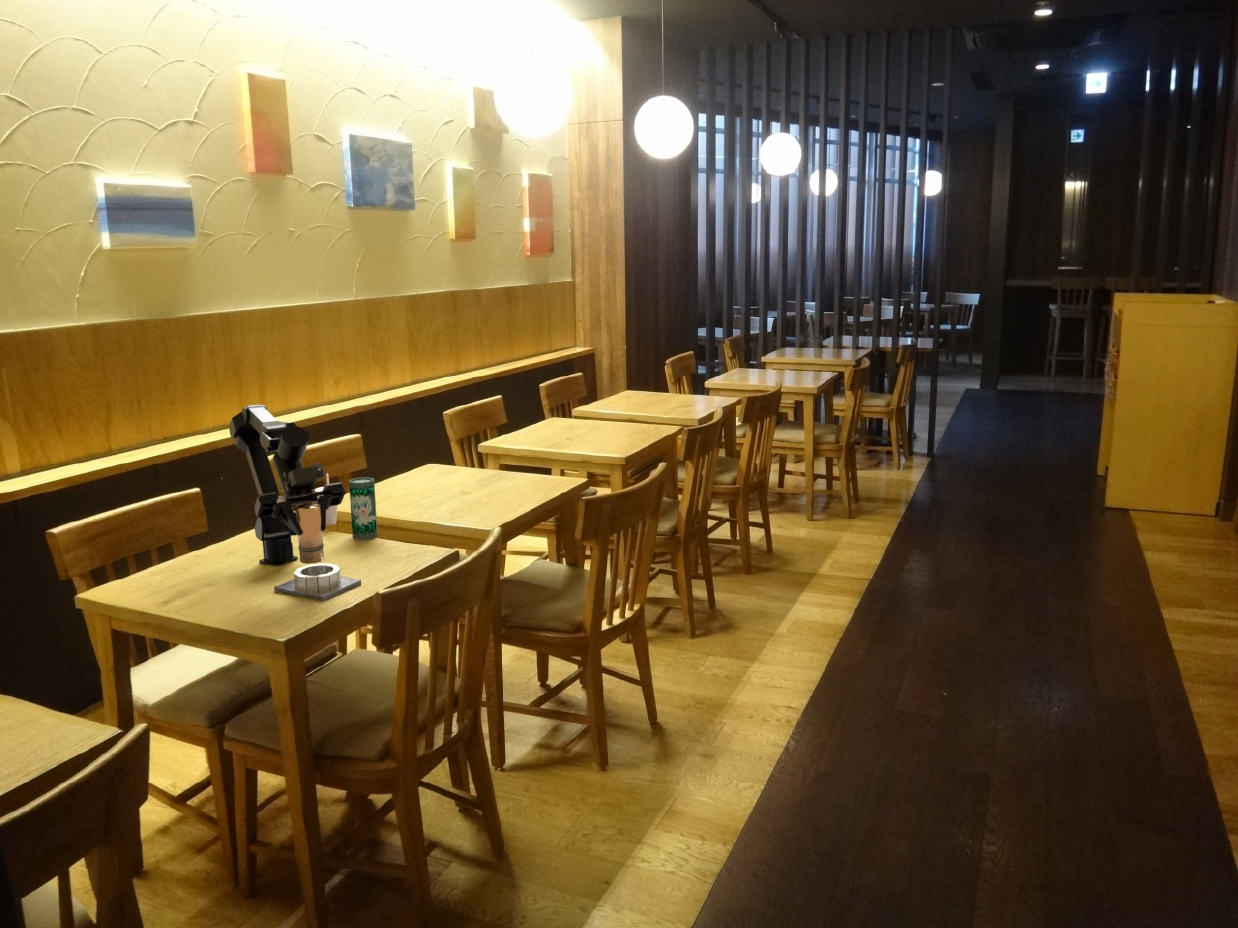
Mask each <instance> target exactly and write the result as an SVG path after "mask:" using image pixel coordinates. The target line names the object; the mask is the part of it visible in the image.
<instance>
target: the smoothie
mask: <svg viewBox="0 0 1238 928" xmlns="http://www.w3.org/2000/svg"><path fill="white" fill-rule="evenodd" d="M325 474H326V475H325V477H326V484H330V479H329V476H330V475H329V473H328V472H327V473H325ZM323 488H324V486H321V487H317V488H314V492H320V491H323ZM337 511H338V505H336V506H330V507H329V509H327V510H326V526H334V525H336V524H337V515H338V513H337Z"/></svg>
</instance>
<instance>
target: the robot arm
mask: <svg viewBox="0 0 1238 928" xmlns="http://www.w3.org/2000/svg"><path fill="white" fill-rule="evenodd" d="M228 427H229V429H228V430H229V435H230V437H231V439H233V441H234V444H235V446H236V448H237V449H239V450H240V451H241V452H243V454H245V455H246V458H247V461H248V464H249V468H250V470H251V475H252V477H253V480H254V484H255V487H256V489H257V493H258V496H257V498H256V501H255V504H254V512H255V516H256V518H257V519H256V522H255V526H254V532H255V533H254V534H255V537H256V539H258V540H259V541H260V542H262V550H263V551H262V552H263V558H262V559H259V563H260V564H266V565H269V566H270V565H271V566H277V567H280V566H283V565H285V564H288V563H290V562H292V561H295V560H298V559H299V557H298V556H297V555H294V547H293V545H294V544H293V542H292V536H293V537H294V536H297V537H298V536H300V535H301V531H300V528H299V525H298V523H297V515H296V510H294V508H293V506H294V505H303V504H309V503H313V502H314V504H318V505H320V510H321V524H322V532H326V527H327V525H326V510H327V509H329V507H330V506H336V505H337V506H340V505H341V504H342V502H343V500H344V497H345V495H346V493H347V490H346V488H345V485H344V484H343V483H342V482H333V483H329V484H327V483H326V484H324V486H323V487H324V488H323V491H320V492H315V491H314V492H313V490H315V489H316V488H315V487H316V484H315V483H317V482H318V480H319V479H322V478H324V477H325V472H324V468H323V465H322V463H321V462H319V463H318V462H317V463H312V465H310V466H309V467H304V465H303V464H304V463H303V461H302V458H304V456H305V453H306V450H307V446H308V444H309V440H310V435H309V433H308V431H307V430H306V429H304V428H303V427H301V426H298V425H297V424H296V422H295V421H291V422H287V421H279V420H278V419H276V417H274V416H273V414H271V413H270V411H268V409H267V406H266V405H264V404H252V405H246V406H243V407H242V409H241V410H240V412H239V413H237V414H236V415H234V416H233V417H232V418H231V420H230V423H229V426H228ZM267 452H268V453H271V452H275V453H274V454H273V456H272V462H273V468H274V469H275V471H276V475H277V477H278V480H279V487H280V490H282V491H283V494H284V495H282V494H281V493H280V490H279V487H278V483H277V480H276V478H275V474H274V472H273V468H272V466H271V462H270V459H269V456H268V453H267Z"/></svg>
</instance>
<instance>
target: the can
mask: <svg viewBox="0 0 1238 928" xmlns="http://www.w3.org/2000/svg"><path fill="white" fill-rule="evenodd" d="M348 488H349V499H350V501H349V502H350V516H351V531H352V538H353V539H354V540H356V541H357V540H359V541H365V540H367V541H368V540H372V539H376V538H378V520H377V519H378V518H377V517H378V516H377V504H376V503H377V502H376V487H375V478H374V477H355V478H352V479H349V481H348Z"/></svg>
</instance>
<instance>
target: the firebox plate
mask: <svg viewBox="0 0 1238 928" xmlns="http://www.w3.org/2000/svg"><path fill="white" fill-rule="evenodd" d="M360 585H362V579H358V578H353V577H348V576H342V575H341V569H340V567H339V566H338V565H336V564H333V563H312V564H308V565H304V566H301V567H299V568H296V569H295V571H294V572H293V579H291V580H288V581H285V582H283V583H280V584H277V585H275V586H273V589H274V590H273V592H275V593H281V594H286V595H290V596H294V597H300V598H305V599H309V600H314V601H318V602H319V601H320V602H325V601H326V600H329V599H331V598H334V597H336V596H338V595H340V594H343V593H345V592H347V591H349V590H351V589H354V588H355V587H358V586H360Z"/></svg>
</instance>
